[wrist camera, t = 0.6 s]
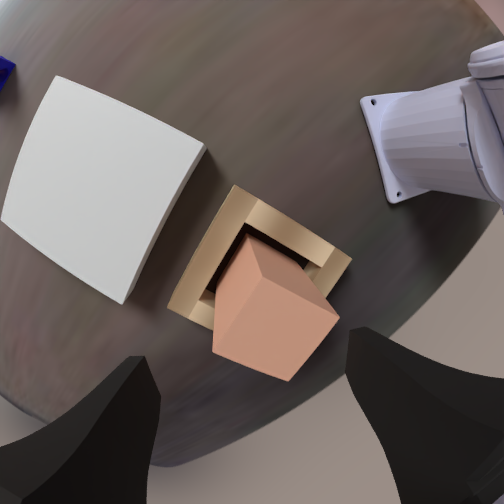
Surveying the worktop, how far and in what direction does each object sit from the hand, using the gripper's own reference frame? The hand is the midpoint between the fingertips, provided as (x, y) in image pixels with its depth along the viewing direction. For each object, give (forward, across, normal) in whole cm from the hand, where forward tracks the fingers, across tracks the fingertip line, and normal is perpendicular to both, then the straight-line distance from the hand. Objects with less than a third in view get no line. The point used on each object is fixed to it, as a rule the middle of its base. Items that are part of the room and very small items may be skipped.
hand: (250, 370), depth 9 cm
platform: (+10, +9, -7) cm, 16 cm away
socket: (+10, -1, 0) cm, 10 cm away
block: (+10, -1, 0) cm, 10 cm away
